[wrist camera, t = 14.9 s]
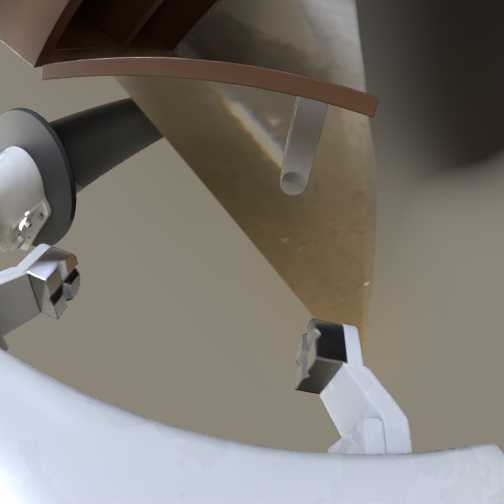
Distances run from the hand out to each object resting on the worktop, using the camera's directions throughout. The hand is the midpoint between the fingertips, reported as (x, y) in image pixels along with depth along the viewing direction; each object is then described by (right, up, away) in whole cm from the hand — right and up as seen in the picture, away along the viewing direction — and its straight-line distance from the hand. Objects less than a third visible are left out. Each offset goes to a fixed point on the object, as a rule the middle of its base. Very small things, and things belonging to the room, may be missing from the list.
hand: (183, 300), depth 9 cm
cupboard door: (+1, +19, +23) cm, 30 cm away
